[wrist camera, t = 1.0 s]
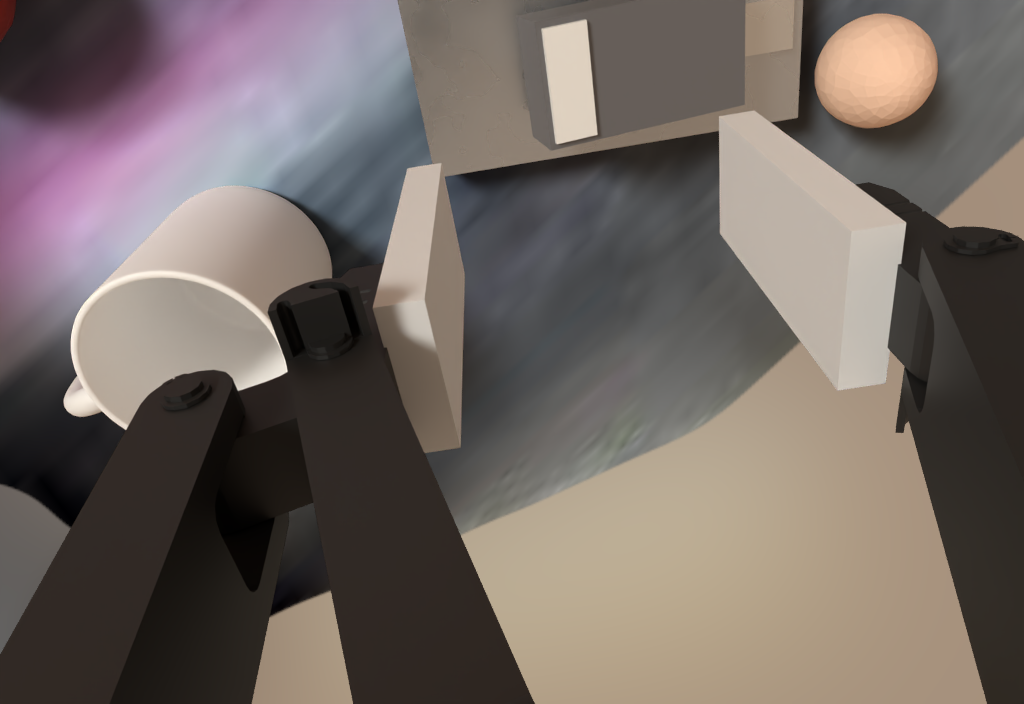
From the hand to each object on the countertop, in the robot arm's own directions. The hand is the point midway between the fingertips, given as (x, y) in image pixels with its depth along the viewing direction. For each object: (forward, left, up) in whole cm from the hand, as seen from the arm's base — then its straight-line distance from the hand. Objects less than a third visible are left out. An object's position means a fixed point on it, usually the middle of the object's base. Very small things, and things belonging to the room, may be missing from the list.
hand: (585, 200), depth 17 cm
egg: (+14, -3, -19) cm, 24 cm away
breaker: (+3, 0, -15) cm, 15 cm away
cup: (-17, -8, -19) cm, 27 cm away
